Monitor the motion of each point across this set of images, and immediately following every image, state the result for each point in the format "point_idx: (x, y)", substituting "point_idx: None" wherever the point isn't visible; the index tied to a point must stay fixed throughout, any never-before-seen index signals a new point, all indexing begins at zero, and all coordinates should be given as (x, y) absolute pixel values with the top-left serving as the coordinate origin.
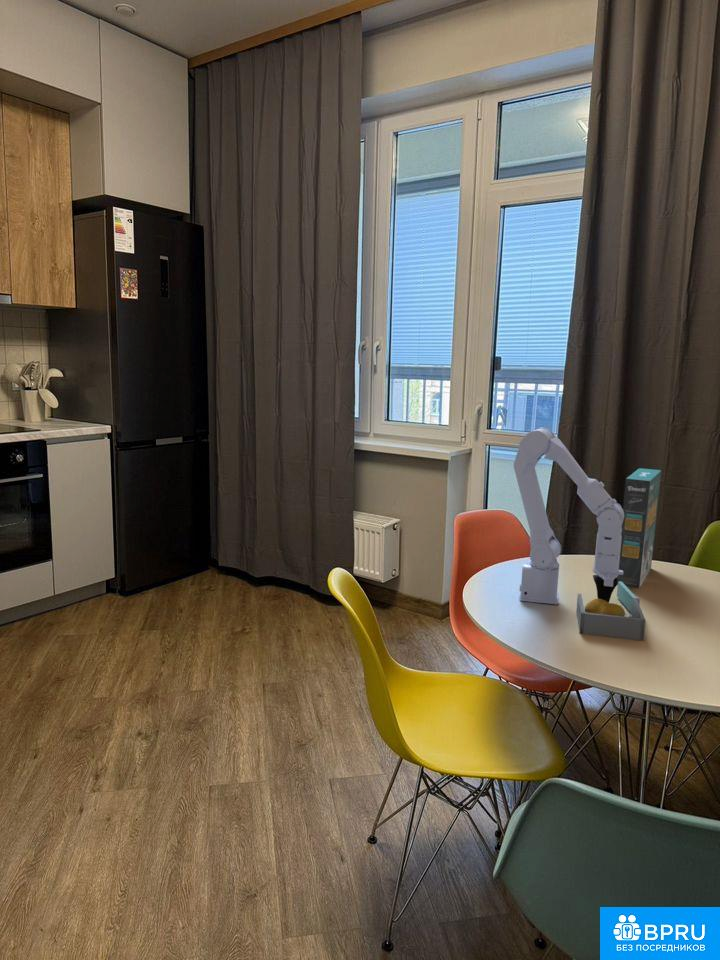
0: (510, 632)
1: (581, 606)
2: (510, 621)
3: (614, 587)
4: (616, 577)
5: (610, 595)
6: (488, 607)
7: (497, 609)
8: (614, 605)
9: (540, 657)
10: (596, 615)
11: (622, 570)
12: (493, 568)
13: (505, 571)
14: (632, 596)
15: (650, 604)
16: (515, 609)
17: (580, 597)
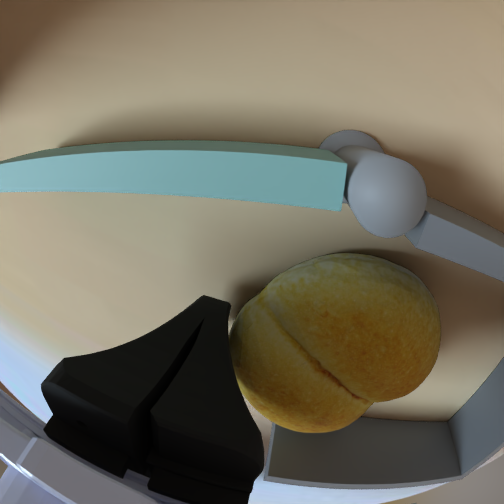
0: (385, 496)
1: (415, 484)
2: (332, 497)
3: (249, 414)
4: (82, 401)
5: (230, 353)
6: (249, 501)
7: (260, 498)
8: (401, 371)
9: (487, 463)
10: (494, 452)
11: (31, 478)
12: (18, 399)
13: (18, 391)
14: (289, 195)
15: (118, 5)
16: (258, 486)
17: (318, 484)
